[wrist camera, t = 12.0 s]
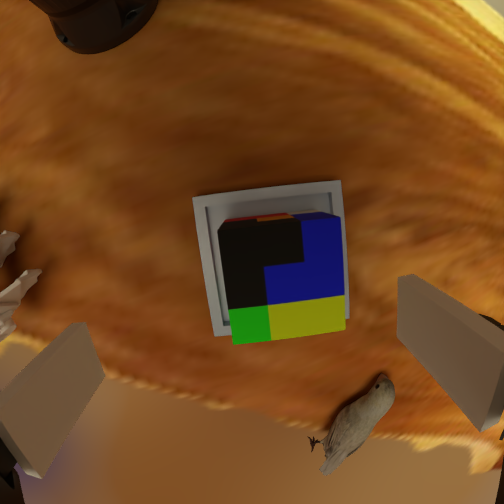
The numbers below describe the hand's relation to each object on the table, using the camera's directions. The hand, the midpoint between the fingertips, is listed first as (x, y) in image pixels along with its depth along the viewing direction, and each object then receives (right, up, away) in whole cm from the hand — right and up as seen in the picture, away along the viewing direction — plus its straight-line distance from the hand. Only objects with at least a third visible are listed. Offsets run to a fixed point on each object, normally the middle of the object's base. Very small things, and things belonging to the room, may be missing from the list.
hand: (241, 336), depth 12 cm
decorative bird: (+15, -20, +30) cm, 39 cm away
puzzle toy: (+3, +3, +24) cm, 24 cm away
